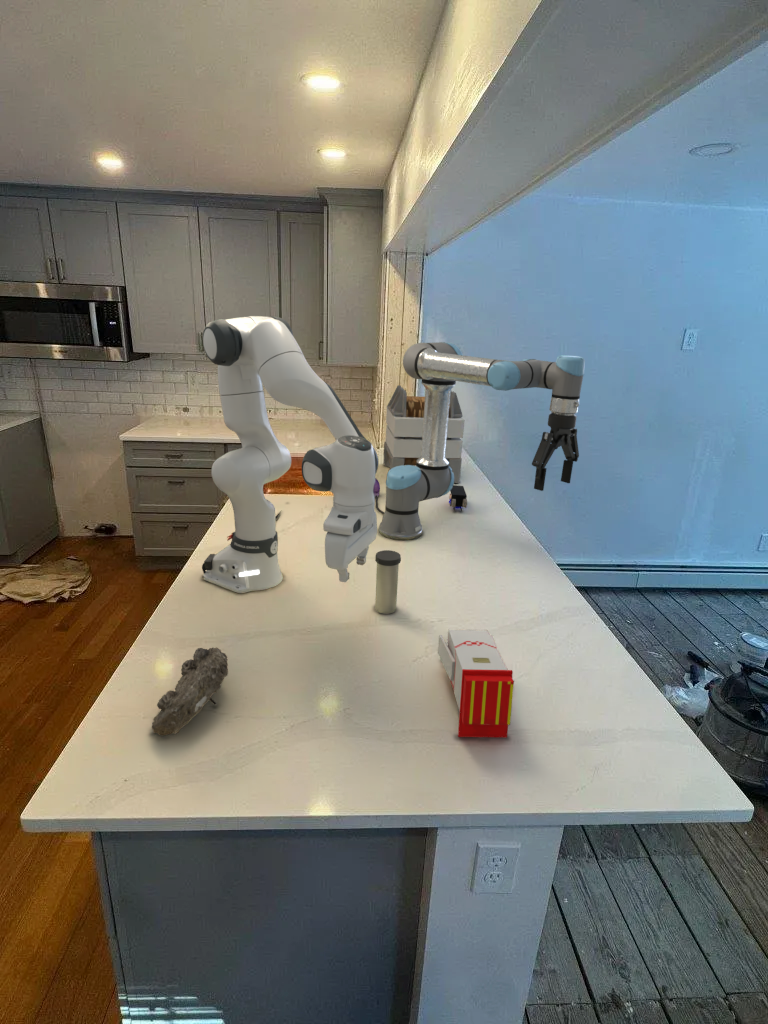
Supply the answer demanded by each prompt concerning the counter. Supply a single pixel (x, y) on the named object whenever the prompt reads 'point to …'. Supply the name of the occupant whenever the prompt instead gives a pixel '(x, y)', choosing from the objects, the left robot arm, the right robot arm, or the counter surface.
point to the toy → (478, 682)
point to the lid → (388, 558)
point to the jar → (386, 588)
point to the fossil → (191, 690)
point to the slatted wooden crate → (419, 431)
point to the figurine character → (458, 497)
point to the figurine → (376, 488)
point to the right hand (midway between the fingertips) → (552, 485)
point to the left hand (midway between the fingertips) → (352, 572)
